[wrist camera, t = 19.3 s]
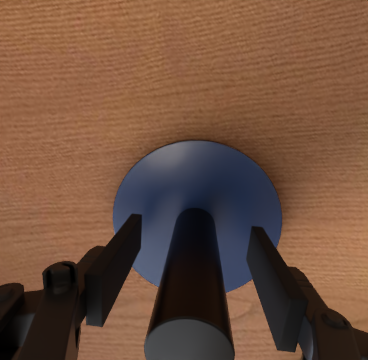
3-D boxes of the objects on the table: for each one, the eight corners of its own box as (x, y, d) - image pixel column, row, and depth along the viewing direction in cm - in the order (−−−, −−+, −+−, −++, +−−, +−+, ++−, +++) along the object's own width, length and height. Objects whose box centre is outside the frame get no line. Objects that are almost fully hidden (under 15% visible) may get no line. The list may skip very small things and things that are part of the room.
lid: (292, 147, 16) (477, 187, 5) (262, 295, 20) (339, 503, 9) (118, 132, 17) (-28, 142, 6) (117, 278, 20) (23, 451, 9)
